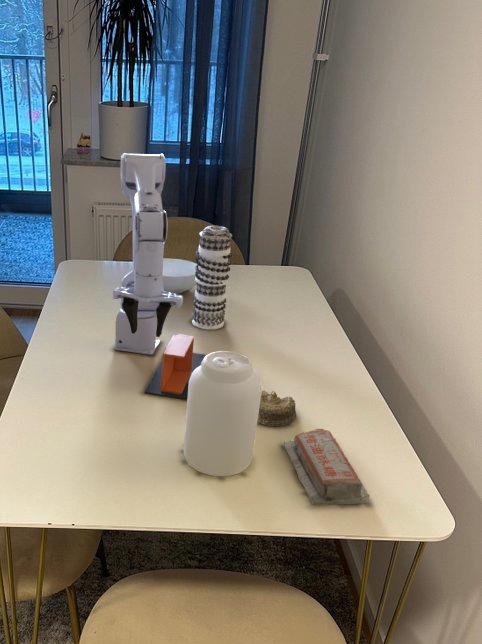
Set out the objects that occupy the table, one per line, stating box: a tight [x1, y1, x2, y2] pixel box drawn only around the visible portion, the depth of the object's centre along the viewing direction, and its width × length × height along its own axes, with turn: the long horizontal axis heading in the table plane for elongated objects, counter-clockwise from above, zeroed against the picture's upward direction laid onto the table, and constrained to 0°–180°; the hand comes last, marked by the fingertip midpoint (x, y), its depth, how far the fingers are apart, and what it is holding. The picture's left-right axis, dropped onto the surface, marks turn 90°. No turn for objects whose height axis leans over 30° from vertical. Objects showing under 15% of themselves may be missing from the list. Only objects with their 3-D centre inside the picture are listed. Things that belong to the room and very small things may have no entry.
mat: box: [144, 352, 207, 401], centre depth 145 cm, size 18×22×1 cm
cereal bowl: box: [162, 257, 197, 295], centre depth 190 cm, size 17×17×7 cm
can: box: [183, 350, 263, 477], centre depth 113 cm, size 12×12×20 cm
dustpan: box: [161, 333, 195, 394], centre depth 142 cm, size 4×17×9 cm, turn 165°
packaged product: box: [283, 428, 370, 506], centre depth 114 cm, size 18×5×10 cm
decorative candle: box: [191, 225, 233, 330], centre depth 165 cm, size 9×9×25 cm
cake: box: [257, 390, 298, 427], centre depth 131 cm, size 10×10×5 cm
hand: (146, 333), depth 139 cm, fingers open, 5 cm apart
